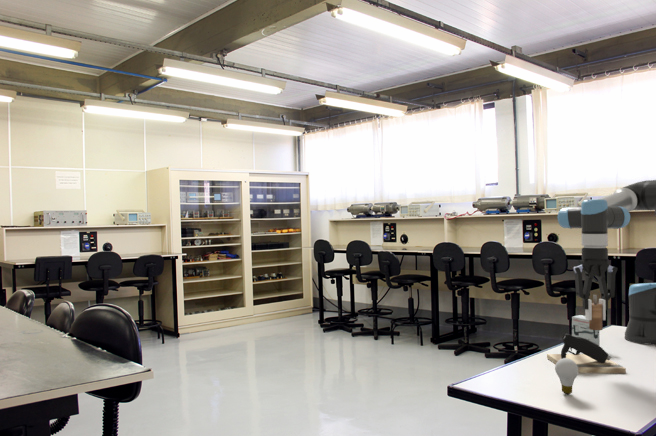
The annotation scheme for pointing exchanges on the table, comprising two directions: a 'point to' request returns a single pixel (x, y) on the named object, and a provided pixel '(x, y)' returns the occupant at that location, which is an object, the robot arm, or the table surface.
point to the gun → (583, 348)
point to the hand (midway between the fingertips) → (595, 319)
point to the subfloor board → (589, 364)
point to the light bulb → (566, 374)
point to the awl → (596, 315)
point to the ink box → (584, 329)
